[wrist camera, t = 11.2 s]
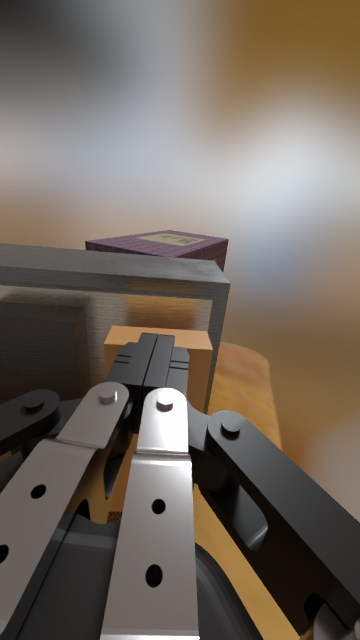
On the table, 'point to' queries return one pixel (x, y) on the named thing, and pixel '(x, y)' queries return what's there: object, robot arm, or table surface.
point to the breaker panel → (94, 312)
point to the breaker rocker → (196, 383)
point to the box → (166, 246)
